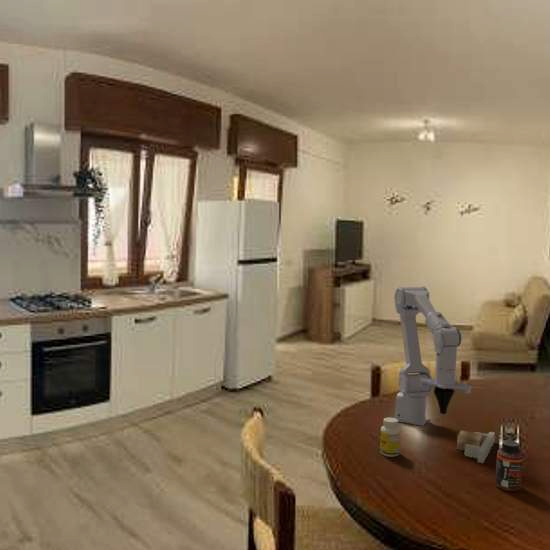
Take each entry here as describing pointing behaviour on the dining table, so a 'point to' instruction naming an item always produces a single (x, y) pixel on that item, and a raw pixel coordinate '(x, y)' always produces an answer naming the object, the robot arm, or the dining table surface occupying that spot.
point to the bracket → (484, 449)
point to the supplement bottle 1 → (390, 438)
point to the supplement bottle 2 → (509, 466)
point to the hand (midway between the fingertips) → (443, 413)
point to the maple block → (468, 439)
